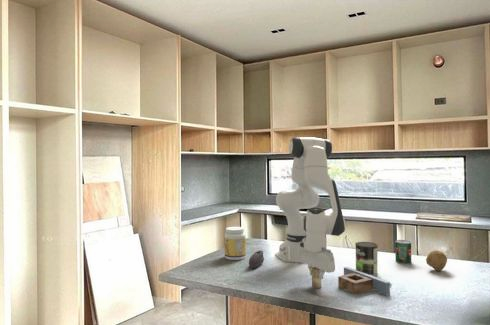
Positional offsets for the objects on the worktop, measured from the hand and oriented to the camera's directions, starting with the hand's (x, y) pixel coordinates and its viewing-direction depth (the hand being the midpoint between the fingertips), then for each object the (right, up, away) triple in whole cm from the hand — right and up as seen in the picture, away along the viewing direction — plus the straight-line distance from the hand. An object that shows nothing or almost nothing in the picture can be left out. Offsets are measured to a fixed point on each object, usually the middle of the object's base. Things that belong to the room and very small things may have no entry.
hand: (316, 277), depth 154 cm
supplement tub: (-37, -5, +47) cm, 60 cm away
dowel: (0, -4, 0) cm, 4 cm away
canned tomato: (+54, -4, +35) cm, 64 cm away
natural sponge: (+63, -4, +20) cm, 66 cm away
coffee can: (+28, -4, +18) cm, 33 cm away
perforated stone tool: (-26, -5, +30) cm, 40 cm away
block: (+16, -4, -3) cm, 17 cm away
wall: (+21, -4, 0) cm, 22 cm away
